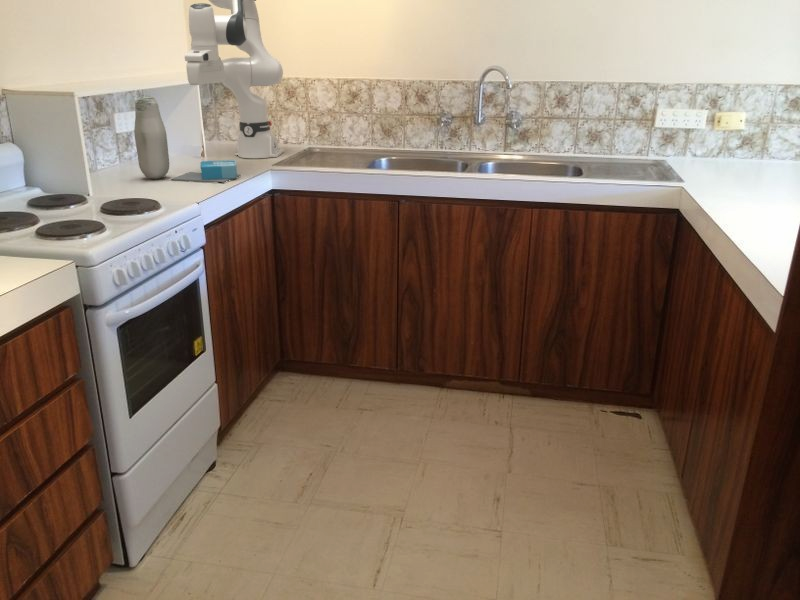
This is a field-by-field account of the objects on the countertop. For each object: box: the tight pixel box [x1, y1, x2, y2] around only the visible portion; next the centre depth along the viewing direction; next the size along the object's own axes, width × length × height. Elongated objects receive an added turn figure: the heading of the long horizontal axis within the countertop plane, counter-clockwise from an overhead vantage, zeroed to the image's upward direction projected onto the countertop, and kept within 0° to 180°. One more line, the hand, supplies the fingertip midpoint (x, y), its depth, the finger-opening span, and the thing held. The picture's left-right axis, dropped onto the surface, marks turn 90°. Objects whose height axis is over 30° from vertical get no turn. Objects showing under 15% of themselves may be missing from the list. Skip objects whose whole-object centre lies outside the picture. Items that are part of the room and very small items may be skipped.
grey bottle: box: [133, 95, 170, 180], centre depth 232 cm, size 10×10×28 cm
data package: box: [200, 159, 238, 180], centre depth 238 cm, size 12×4×12 cm
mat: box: [170, 171, 241, 184], centre depth 238 cm, size 13×20×1 cm, turn 77°
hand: (209, 97), depth 235 cm, fingers closed
